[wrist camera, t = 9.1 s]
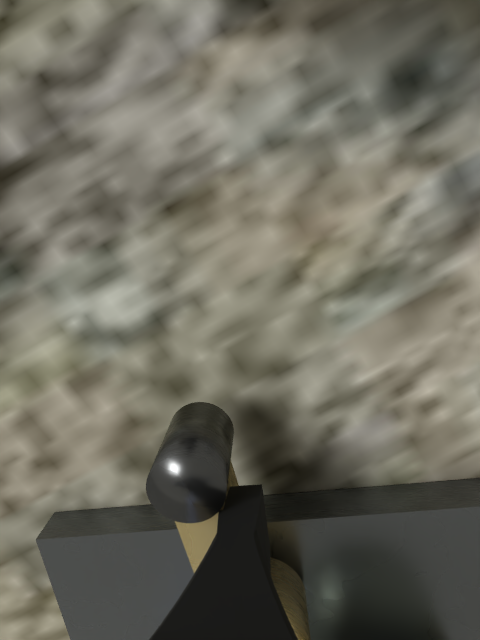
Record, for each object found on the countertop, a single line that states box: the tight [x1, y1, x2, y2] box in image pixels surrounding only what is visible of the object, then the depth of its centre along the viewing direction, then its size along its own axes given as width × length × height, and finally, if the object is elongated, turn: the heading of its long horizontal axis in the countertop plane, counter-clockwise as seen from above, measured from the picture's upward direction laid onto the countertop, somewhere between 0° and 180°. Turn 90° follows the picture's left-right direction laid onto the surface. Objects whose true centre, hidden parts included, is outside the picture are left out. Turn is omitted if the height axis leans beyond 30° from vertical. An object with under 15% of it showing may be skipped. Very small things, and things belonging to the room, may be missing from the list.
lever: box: [146, 402, 311, 640], centre depth 11 cm, size 9×3×3 cm, turn 15°
